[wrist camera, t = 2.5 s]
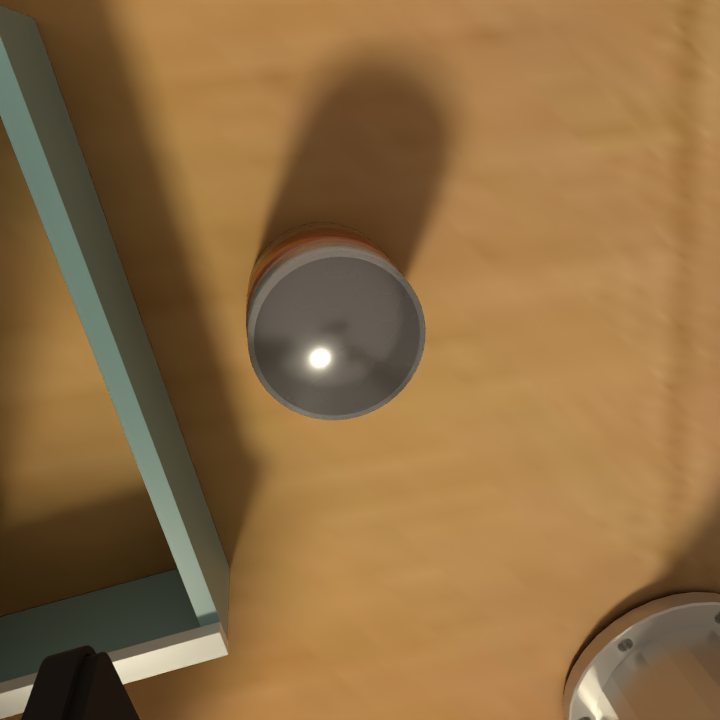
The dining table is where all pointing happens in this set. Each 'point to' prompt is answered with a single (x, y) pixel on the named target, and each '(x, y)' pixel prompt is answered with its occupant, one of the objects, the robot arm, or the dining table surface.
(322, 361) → the tin
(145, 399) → the tray
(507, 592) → the dining table surface
